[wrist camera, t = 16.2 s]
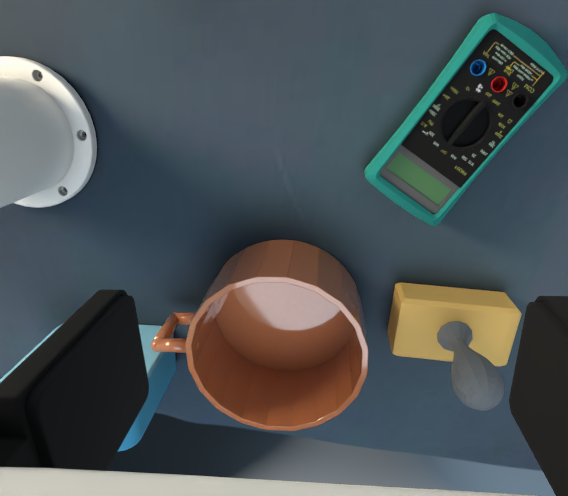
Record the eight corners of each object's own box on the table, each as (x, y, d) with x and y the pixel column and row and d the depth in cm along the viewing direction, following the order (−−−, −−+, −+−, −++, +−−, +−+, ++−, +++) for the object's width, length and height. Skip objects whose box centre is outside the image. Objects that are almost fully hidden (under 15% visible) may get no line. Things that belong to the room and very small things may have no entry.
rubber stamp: (386, 334, 43) (406, 426, 31) (395, 280, 40) (421, 358, 29) (491, 345, 42) (550, 442, 31) (506, 290, 40) (576, 375, 29)
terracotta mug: (363, 239, 39) (371, 277, 32) (358, 374, 45) (364, 434, 37) (165, 238, 41) (130, 275, 34) (183, 369, 46) (156, 425, 39)
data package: (71, 355, 47) (-8, 442, 36) (64, 318, 45) (-22, 397, 34) (181, 363, 46) (134, 454, 35) (177, 325, 44) (127, 409, 33)
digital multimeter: (561, 67, 33) (582, 66, 30) (427, 221, 38) (435, 232, 35) (486, 6, 32) (500, 0, 29) (359, 173, 37) (362, 180, 34)
